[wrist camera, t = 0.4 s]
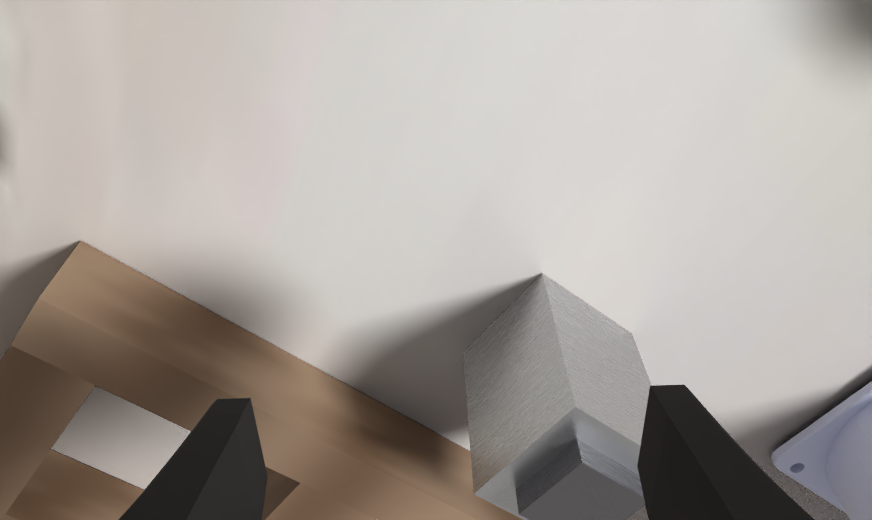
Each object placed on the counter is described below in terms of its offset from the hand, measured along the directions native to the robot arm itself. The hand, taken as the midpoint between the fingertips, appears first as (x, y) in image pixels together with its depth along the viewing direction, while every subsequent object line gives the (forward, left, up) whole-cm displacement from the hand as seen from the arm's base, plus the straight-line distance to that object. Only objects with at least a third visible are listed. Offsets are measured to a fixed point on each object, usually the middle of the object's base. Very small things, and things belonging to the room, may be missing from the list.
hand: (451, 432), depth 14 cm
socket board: (-3, +13, -10) cm, 17 cm away
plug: (-6, +2, -10) cm, 12 cm away
